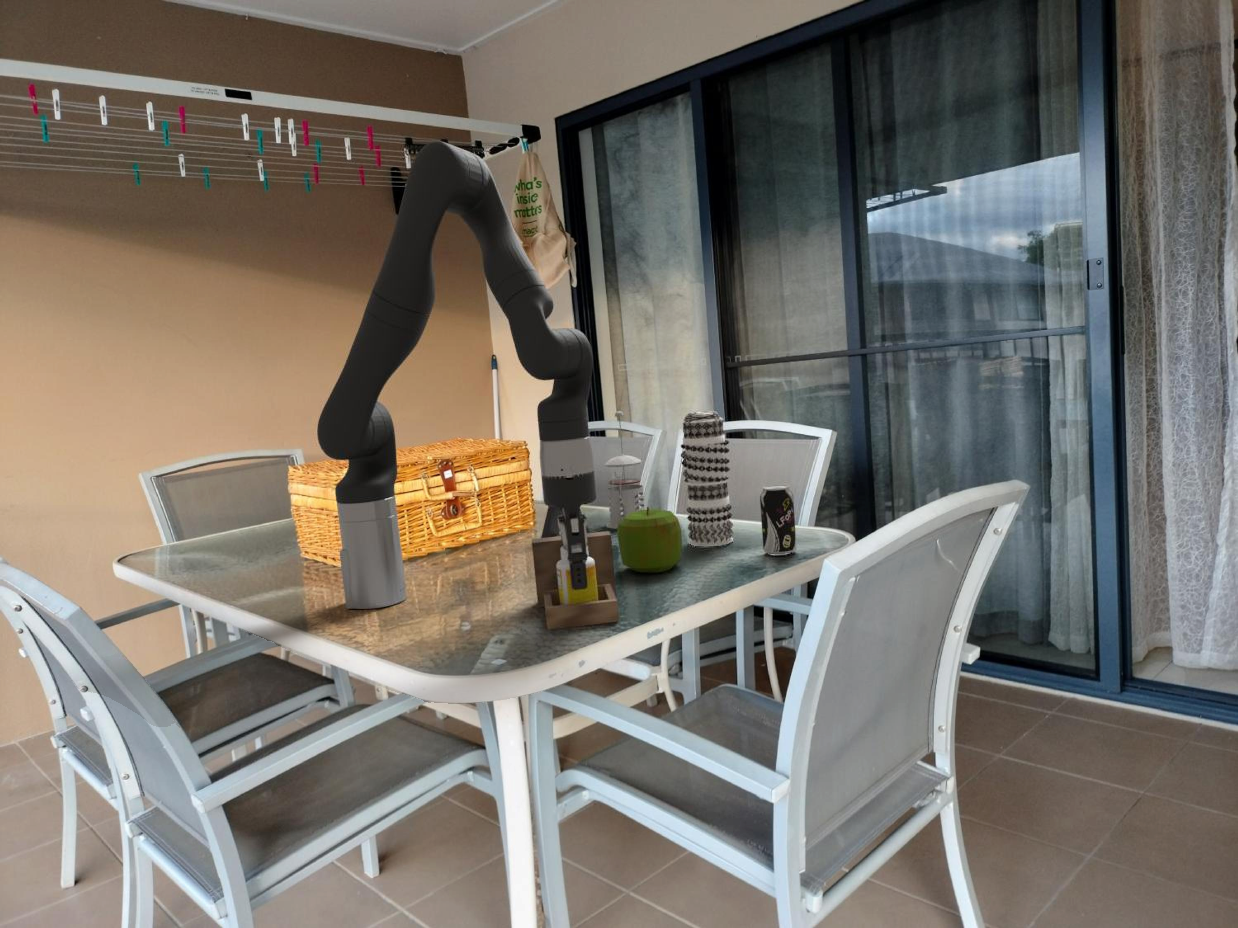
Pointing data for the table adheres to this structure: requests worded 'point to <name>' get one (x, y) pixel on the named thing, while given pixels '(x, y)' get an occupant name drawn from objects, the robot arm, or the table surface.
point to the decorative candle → (706, 479)
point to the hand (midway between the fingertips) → (577, 581)
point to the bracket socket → (548, 591)
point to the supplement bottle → (564, 581)
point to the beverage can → (778, 519)
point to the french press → (623, 488)
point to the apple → (650, 540)
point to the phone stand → (553, 523)
